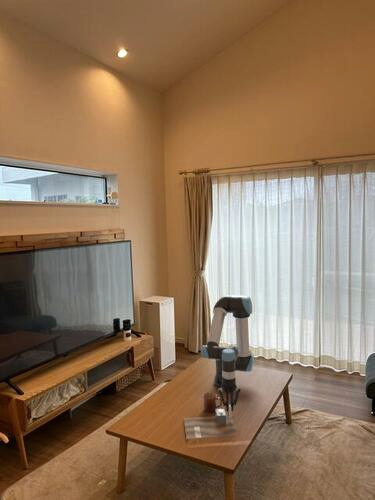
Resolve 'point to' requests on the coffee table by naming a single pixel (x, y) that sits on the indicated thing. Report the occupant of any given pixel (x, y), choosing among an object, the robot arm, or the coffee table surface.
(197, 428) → the board
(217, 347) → the robot arm
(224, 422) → the block
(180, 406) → the coffee table surface
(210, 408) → the mug
